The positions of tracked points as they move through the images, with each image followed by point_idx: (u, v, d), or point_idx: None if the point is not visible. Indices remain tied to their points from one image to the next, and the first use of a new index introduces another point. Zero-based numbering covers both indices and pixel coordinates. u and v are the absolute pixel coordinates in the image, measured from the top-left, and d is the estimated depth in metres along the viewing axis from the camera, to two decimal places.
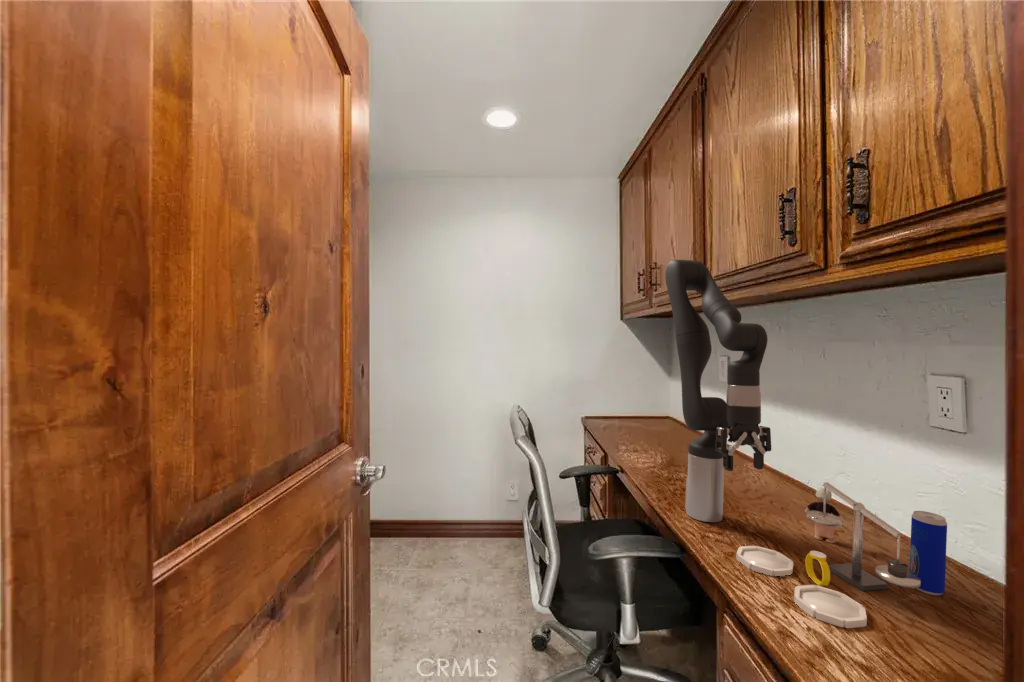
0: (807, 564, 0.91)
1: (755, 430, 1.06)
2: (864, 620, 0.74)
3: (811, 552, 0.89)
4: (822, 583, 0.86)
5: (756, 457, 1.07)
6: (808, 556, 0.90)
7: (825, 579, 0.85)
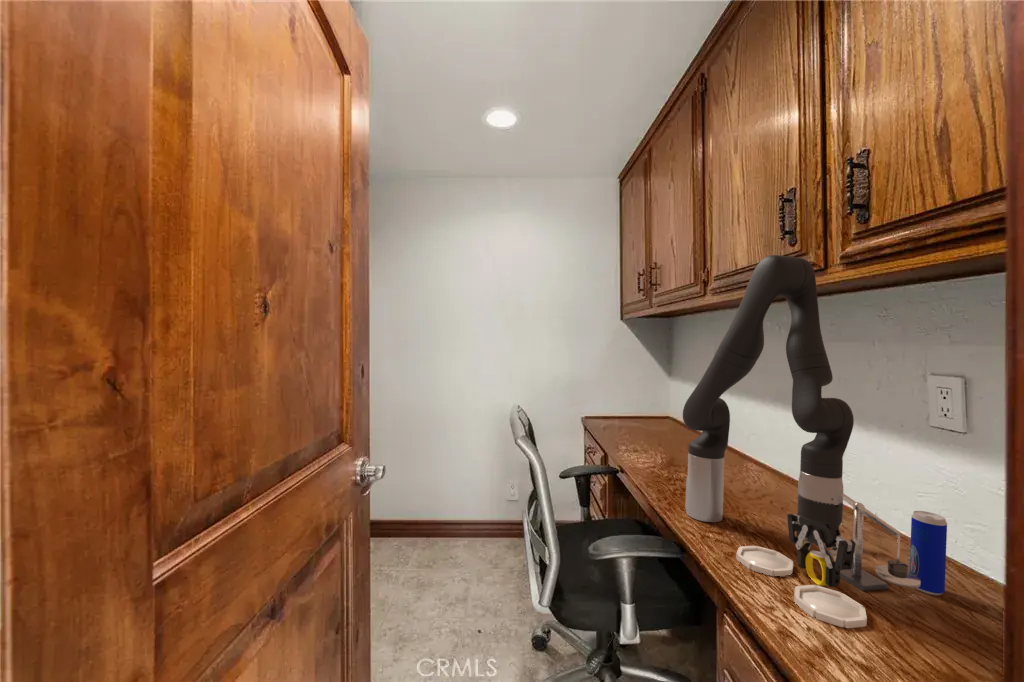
0: (807, 564, 0.91)
1: None
2: (864, 620, 0.74)
3: (811, 552, 0.89)
4: (822, 583, 0.86)
5: (804, 555, 0.91)
6: (808, 556, 0.90)
7: (825, 579, 0.85)
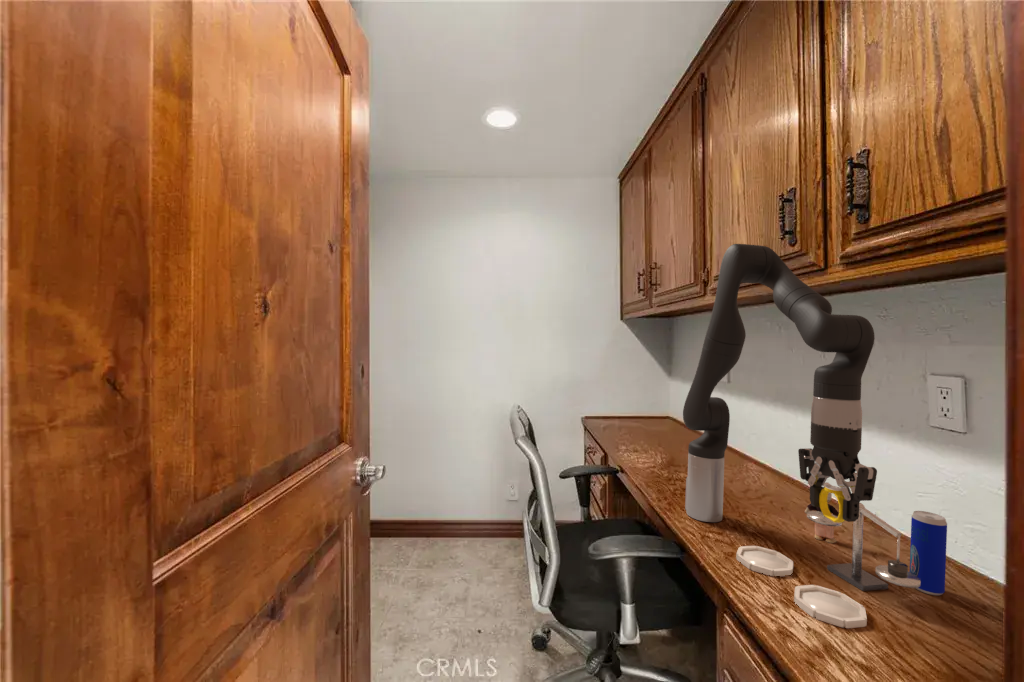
0: (821, 501, 0.82)
1: None
2: (864, 620, 0.74)
3: (826, 486, 0.80)
4: (839, 518, 0.77)
5: (818, 492, 0.82)
6: (822, 492, 0.82)
7: (842, 513, 0.76)
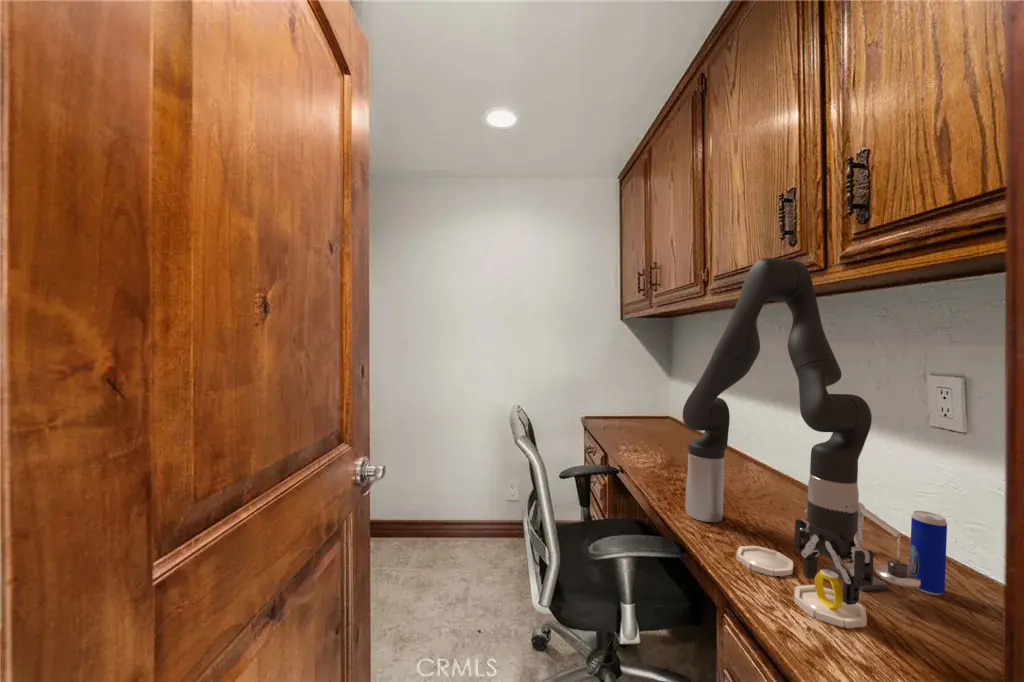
0: (817, 584, 0.82)
1: None
2: (864, 620, 0.74)
3: (821, 571, 0.80)
4: (833, 606, 0.77)
5: (811, 564, 0.83)
6: (818, 575, 0.82)
7: (837, 602, 0.77)
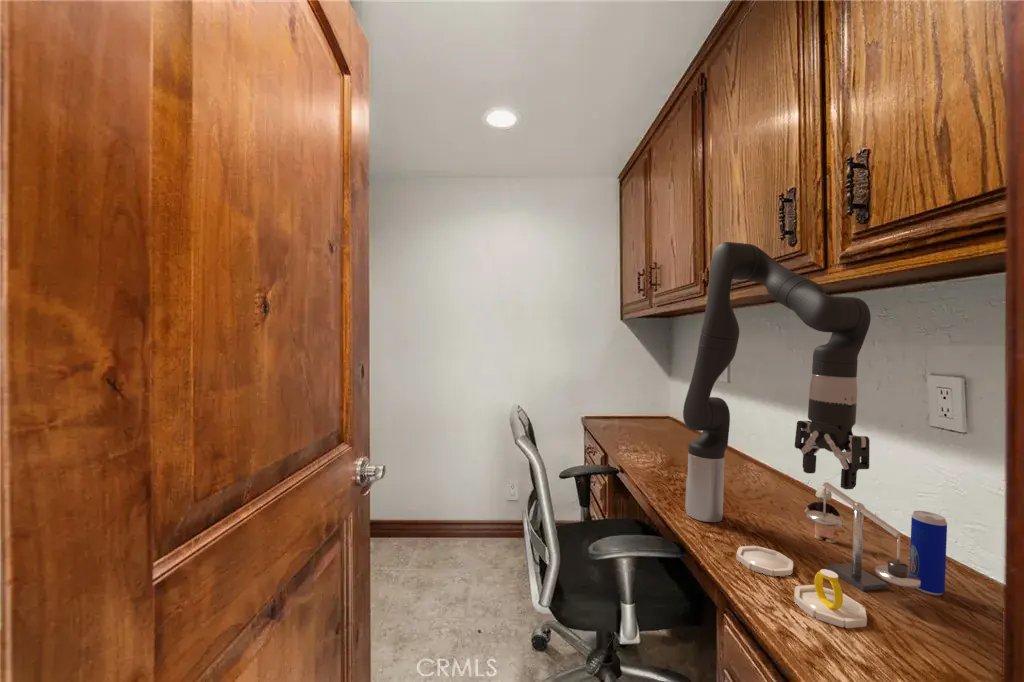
0: (816, 584, 0.82)
1: None
2: (864, 620, 0.74)
3: (821, 571, 0.80)
4: (833, 606, 0.77)
5: (810, 460, 0.88)
6: (818, 575, 0.82)
7: (837, 602, 0.77)
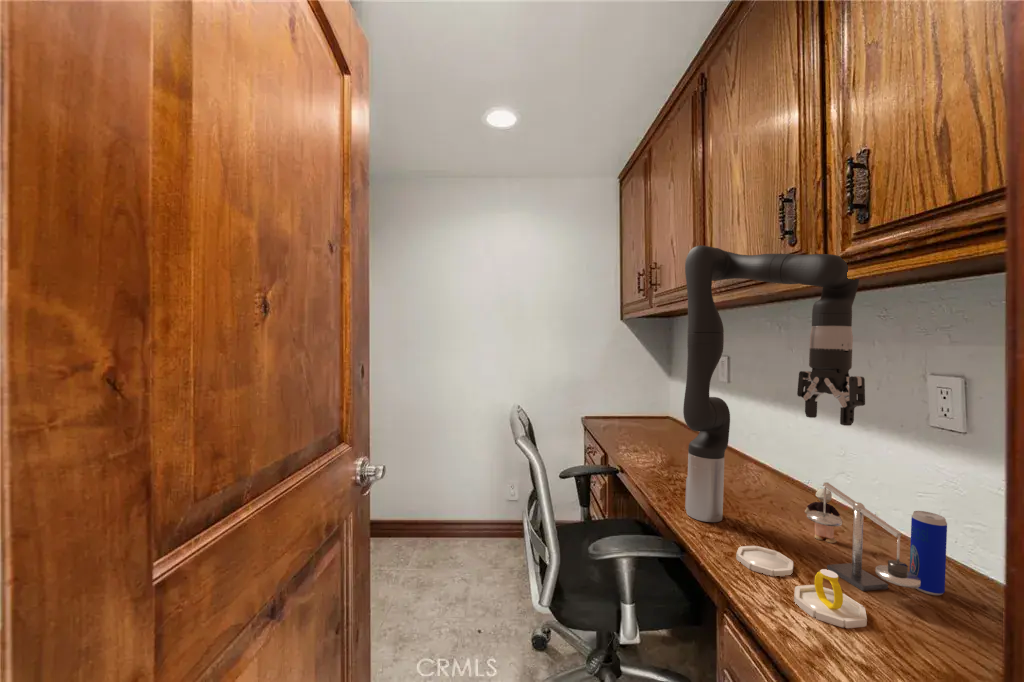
0: (816, 584, 0.82)
1: None
2: (864, 620, 0.74)
3: (821, 571, 0.80)
4: (833, 606, 0.77)
5: (812, 405, 0.98)
6: (818, 575, 0.82)
7: (837, 602, 0.77)
